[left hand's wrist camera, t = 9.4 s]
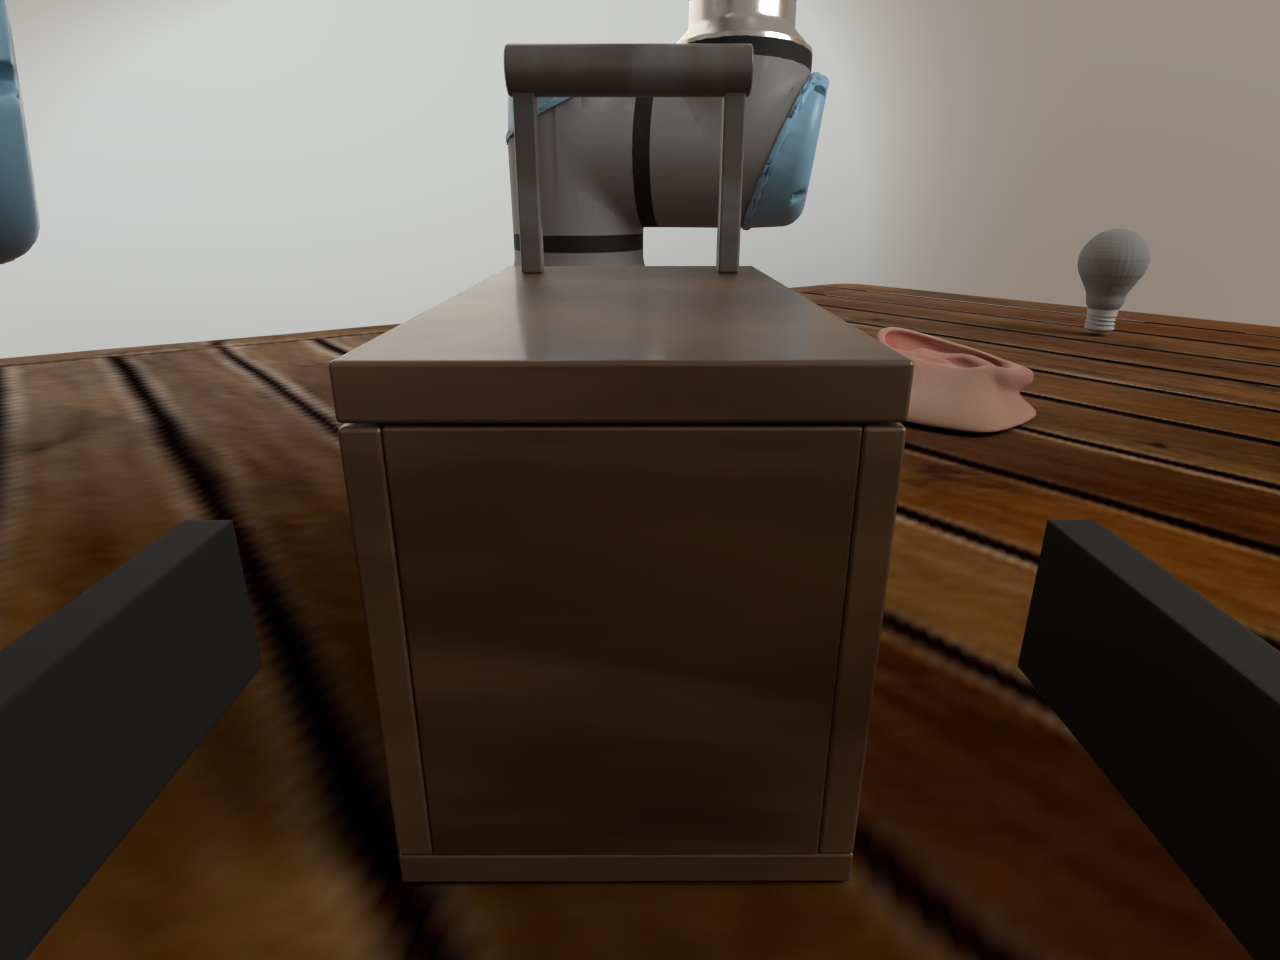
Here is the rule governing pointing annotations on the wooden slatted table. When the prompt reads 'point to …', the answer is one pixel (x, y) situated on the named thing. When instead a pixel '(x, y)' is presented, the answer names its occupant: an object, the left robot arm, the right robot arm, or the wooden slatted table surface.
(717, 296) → the lid
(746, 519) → the chest
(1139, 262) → the light bulb
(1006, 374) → the anatomical model
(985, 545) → the wooden slatted table surface
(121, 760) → the left robot arm
